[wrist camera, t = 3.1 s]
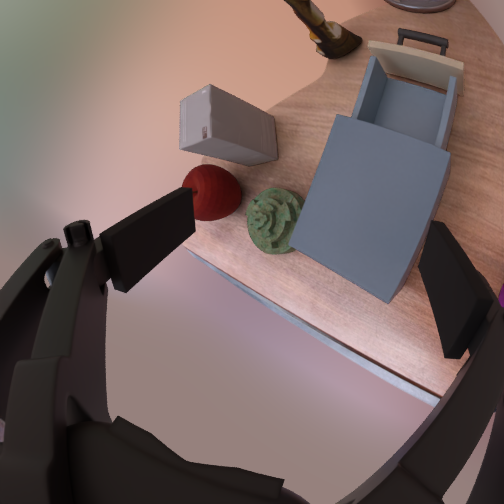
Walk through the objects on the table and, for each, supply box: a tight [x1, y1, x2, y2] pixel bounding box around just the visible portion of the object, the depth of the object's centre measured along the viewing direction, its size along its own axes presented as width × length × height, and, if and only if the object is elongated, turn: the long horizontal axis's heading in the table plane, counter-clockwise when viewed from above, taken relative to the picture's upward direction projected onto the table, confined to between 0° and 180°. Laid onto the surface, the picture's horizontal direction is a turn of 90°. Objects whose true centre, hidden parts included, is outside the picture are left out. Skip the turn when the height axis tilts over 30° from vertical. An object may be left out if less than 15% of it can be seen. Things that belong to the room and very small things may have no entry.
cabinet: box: [288, 114, 451, 304], centre depth 30 cm, size 17×14×9 cm
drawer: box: [351, 28, 465, 151], centre depth 25 cm, size 20×12×7 cm, turn 156°
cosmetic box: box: [179, 84, 278, 166], centre depth 39 cm, size 8×7×16 cm
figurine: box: [284, 0, 362, 59], centre depth 26 cm, size 5×8×20 cm, turn 112°
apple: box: [182, 164, 241, 221], centre depth 46 cm, size 10×10×10 cm
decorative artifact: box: [245, 188, 305, 254], centre depth 41 cm, size 10×7×10 cm
